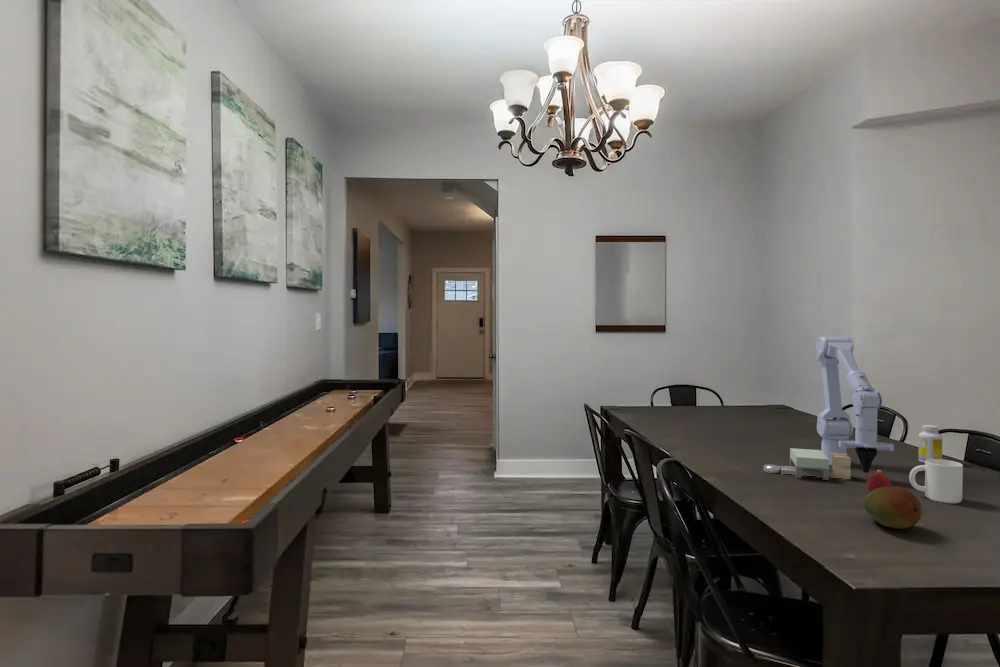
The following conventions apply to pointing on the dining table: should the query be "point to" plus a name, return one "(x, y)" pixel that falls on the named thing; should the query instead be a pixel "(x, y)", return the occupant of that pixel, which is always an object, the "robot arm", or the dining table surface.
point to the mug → (940, 480)
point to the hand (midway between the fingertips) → (865, 471)
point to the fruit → (893, 507)
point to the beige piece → (838, 469)
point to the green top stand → (809, 461)
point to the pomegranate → (877, 481)
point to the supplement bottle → (930, 443)
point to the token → (772, 468)
